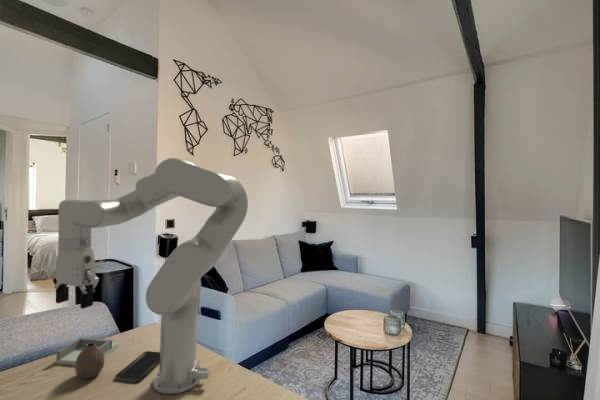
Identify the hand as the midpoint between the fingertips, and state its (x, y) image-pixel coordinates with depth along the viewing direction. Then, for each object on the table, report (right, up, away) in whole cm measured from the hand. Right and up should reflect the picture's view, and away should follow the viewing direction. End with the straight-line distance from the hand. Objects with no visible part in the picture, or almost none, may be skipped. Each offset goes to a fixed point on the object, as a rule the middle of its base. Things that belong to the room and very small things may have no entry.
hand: (74, 304), depth 89 cm
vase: (+4, -20, 0) cm, 21 cm away
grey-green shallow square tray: (-3, -19, +10) cm, 22 cm away
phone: (+17, -21, +5) cm, 27 cm away
